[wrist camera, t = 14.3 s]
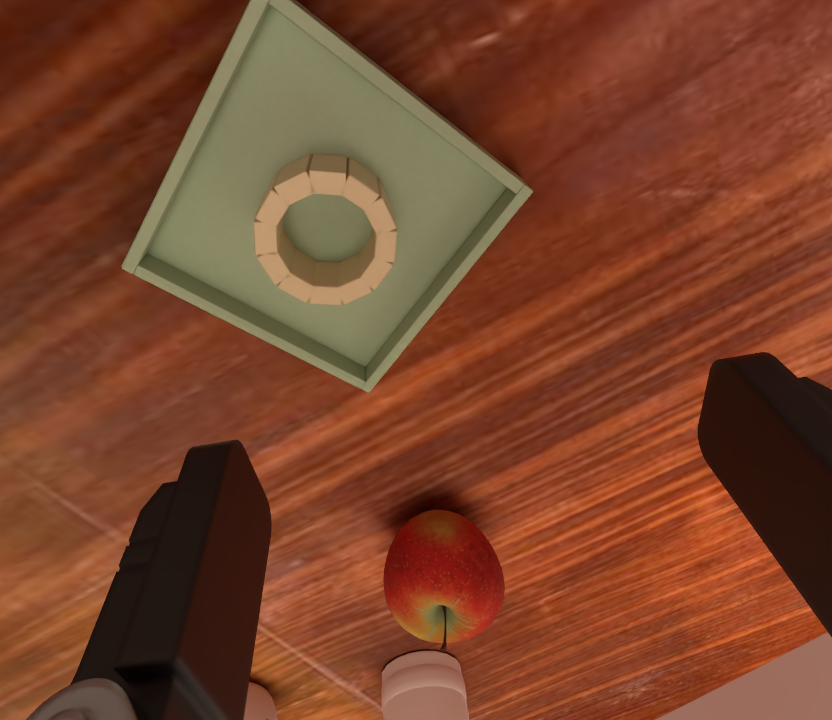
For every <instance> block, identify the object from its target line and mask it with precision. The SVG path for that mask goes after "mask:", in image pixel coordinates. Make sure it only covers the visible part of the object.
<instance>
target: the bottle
mask: <svg viewBox="0 0 832 720" xmlns="http://www.w3.org/2000/svg"><path fill="white" fill-rule="evenodd" d="M381 694H382V713H383V716H384V720H469V715H468V709H467V703H466V698H467V697H466V689H465V684H464V680H463V678H462V672H461V666H460V664H459V663H458V661H457V659H455V658H453V657H452V656H450V655H448V654H447V653H443V652H438V651H417V652H412V653H408V654H405V655H402V656H400V657H397V658H396V659H394V660H393V661H392V662H390V663H389V664H388V665H387V666H386V667H385V669H384V670H383V672H382V689H381Z"/></svg>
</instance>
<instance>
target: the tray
mask: <svg viewBox="0 0 832 720" xmlns="http://www.w3.org/2000/svg"><path fill="white" fill-rule="evenodd" d="M313 153H322V154H333V155H345V156H347V161H348V159H349V158H352V159H354V160H355V161H356V162H358V163H359V164H361V165H362V166H364V167H365V168H367V169H368V170H369V171H371V172H372V173H374V174H375V175H376V176H377V179H380V180H381V183H382V185H383V187H384V189H385V191H386V193H387V195H388V197H389V199H390V201H391V203H392V205H393V210H394V215H395V221H396V226H397V232H398V233H397V244H396V255H395V261H394V262H393V267H392V268H391V270H390V271H389V272H388V274H387V275H386V276H385V278H384V279H383V280H382V282H381V283H380V285H379V286H378V287H377V289H373V288H372V292H371V293H369V294H367V295H365V296H363V297H361V298H358V299H356V300H354V301H352V302H349V303H347V304H344V303H343V301H342V303H341V305H326V304H310V303H309V299H308V301H307V302H306V303H305V302H303V301H301V300H300V299H298V298H296V297H294V296H292V295H290V294H289V293H287V292H285V291H283V290H281V289H280V288H278V283H277V284H274V283H273V281H272V280H271V278H270V277H269V275H268V274H267V272H266V271H265V269H264V268H263V266H262V265H261V263H260V262H259V260H258V259H257V256H258V254H255V243H254V226H253V222H254V220H255V215H256V213H257V210H258V208H259V205H260V203H261V201H262V198H263V196H264V194H265V192H266V191H267V189H268V187H269V186H270V184H271V182H272V180H273V179H274V177H275V175H276V173H277V172H278V171H280V170H281V168H282V167H284V166H286V165H288V164H290V163H292V162H294V161H296V160H298V159H300V158H302V157H304V156H306V155H308V154H311V156H313ZM532 192H533V190H532V189H531V188H530V187H529V186H528V185H527V183H526V182H525V181H524V180H523V179H522V178H521V177H519V176H518V175H517V174H516V173H514V172H513V171H512V170H511V169H509V168H508V167H507V166H505V165H504V164H503V163H502V162H500V161H499V160H498V159H497V158H495V157H494V156H493V155H492V154H490V153H489V152H488V151H486V150H485V149H484V148H483V147H481V146H480V145H479V144H478V143H476V142H475V141H474V140H473V139H471V138H470V137H469V136H467V135H466V134H465V133H464V132H462V131H461V130H460V129H459V128H457V127H456V126H455V125H454V124H452V123H451V122H450V121H448V120H447V119H446V118H445V117H443V116H442V115H441V114H440V113H438V112H437V111H436V110H435V109H433V108H432V107H431V106H429V105H428V104H427V103H426V102H424V101H423V100H422V99H421V98H419V97H418V96H417V95H416V94H414V93H413V92H412V91H410V90H409V89H408V88H407V87H405V86H404V85H403V84H402V83H400V82H399V81H398V80H397V79H395V78H394V77H393V76H392V75H390V74H389V73H388V72H386V71H385V70H384V69H383V68H381V67H380V66H379V65H378V64H376V63H375V62H374V61H373V60H371V59H370V58H369V57H367V56H366V55H365V54H364V53H362V52H361V51H360V50H359V49H357V48H356V47H355V46H354V45H352V44H351V43H350V42H348V41H347V40H346V39H345V38H343V37H342V36H341V35H340V34H338V33H337V32H336V31H335V30H333V29H332V28H331V27H329V26H328V25H327V24H326V23H324V22H323V21H322V20H321V19H319V18H318V17H317V16H316V15H314V14H313V13H312V12H310V11H309V10H308V9H307V8H305V7H304V6H303V5H302V4H300V3H299V2H298V1H297V0H250V2H249V4H248V6H247V8H246V10H245V12H244V14H243V16H242V18H241V20H240V22H239V24H238V26H237V28H236V30H235V33H234V35H233V37H232V39H231V41H230V43H229V45H228V47H227V49H226V51H225V53H224V55H223V57H222V59H221V61H220V64H219V66H218V68H217V70H216V72H215V74H214V76H213V78H212V80H211V82H210V84H209V86H208V88H207V90H206V93H205V95H204V97H203V99H202V101H201V103H200V105H199V107H198V109H197V111H196V113H195V115H194V117H193V119H192V121H191V124H190V126H189V128H188V130H187V132H186V134H185V136H184V138H183V140H182V142H181V144H180V146H179V148H178V150H177V152H176V155H175V157H174V159H173V161H172V163H171V165H170V167H169V169H168V171H167V173H166V175H165V177H164V179H163V181H162V184H161V186H160V188H159V190H158V192H157V194H156V196H155V198H154V200H153V202H152V204H151V206H150V208H149V210H148V212H147V215H146V217H145V219H144V221H143V223H142V225H141V227H140V229H139V231H138V233H137V235H136V237H135V239H134V241H133V243H132V246H131V248H130V250H129V252H128V254H127V256H126V258H125V260H124V262H123V264H122V266H121V268H122V269H124V270H126V271H128V272H130V273H132V274H133V273H134V275H135V276H137V277H139V278H141V279H143V280H145V281H147V282H149V283H151V284H153V285H155V286H157V287H159V288H161V289H163V290H165V291H167V292H169V293H171V294H173V295H175V296H177V297H179V298H181V299H183V300H185V301H187V302H189V303H191V304H193V305H195V306H197V307H199V308H201V309H203V310H205V311H207V312H209V313H211V314H213V315H215V316H217V317H219V318H221V319H223V320H225V321H227V322H229V323H231V324H233V325H235V326H237V327H239V328H241V329H243V330H245V331H247V332H248V333H250V334H252V335H254V336H256V337H258V338H260V339H262V340H264V341H266V342H268V343H270V344H272V345H274V346H276V347H278V348H280V349H282V350H284V351H286V352H288V353H290V354H292V355H294V356H296V357H298V358H300V359H302V360H304V361H306V362H308V363H310V364H312V365H314V366H316V367H318V368H320V369H322V370H324V371H326V372H328V373H330V374H332V375H334V376H336V377H338V378H340V379H342V380H344V381H346V382H348V383H350V384H352V385H354V386H356V387H358V388H361V389H362V390H364V391H366V392H368V393H369V392H370V391H371V390H372V388H373V387H374V386H375V385H376V384H377V382H378V381H379V380H380V379H381V377H382V376H383V375H384V374H385V373H386V371H387V370H388V369H389V368H390V366H391V365H392V364H393V363H394V362H395V360H396V359H397V358H398V357H399V355H400V354H401V353H402V352H403V351H404V349H405V348H406V347H407V346H408V344H409V343H410V342H411V341H412V339H413V338H414V337H415V336H416V335H417V333H418V332H419V331H420V330H421V328H422V327H423V326H424V325H425V324H426V322H427V321H428V320H429V319H430V317H431V316H432V315H433V314H434V313H435V311H436V310H437V309H438V308H439V306H440V305H441V304H442V303H443V302H444V300H445V299H446V298H447V297H448V295H449V294H450V293H451V292H452V290H453V289H454V288H455V287H456V286H457V284H458V283H459V282H460V281H461V279H462V278H463V277H464V276H465V275H466V273H467V272H468V271H469V270H470V268H471V267H472V266H473V265H474V264H475V262H476V261H477V260H478V259H479V257H480V256H481V255H482V254H483V253H484V251H485V250H486V249H487V248H488V246H489V245H490V244H491V243H492V241H493V240H494V239H495V238H496V237H497V235H498V234H499V233H500V232H501V230H502V229H503V228H504V227H505V226H506V224H507V223H508V222H509V221H510V219H511V218H512V217H513V216H514V215H515V213H516V212H517V211H518V210H519V208H520V207H521V206H522V205H523V204H524V202H525V201H526V200H527V199H528V197H529V196H530V195H531V194H532ZM283 218H284V230H285V232H286V234H287V235H288V237H289V238H290V240H291V242H292V243H293V245H294V247H295V248H296V249H297V250H299V251H300V252H302V253H304V254H306V255H307V256H309V257H311V258H312V259H314V260H316V261H324V262H341V261H343V260H345V259H347V258H350V257H352V256H354V255H356V254H358V253H360V251H361V250H362V248H363V247H364V246H365V244H366V243H367V241H368V240H369V238H370V237H371V236H372V228H373V227H372V225H371V223H370V221H369V220H368V218H367V216H366V214H365V212H364V210H363V209H361V208H360V207H358V206H356V205H355V204H353V203H352V202H350V201H349V200H347V199H346V198H344V197H343V196H339V195H326V194H312V195H310V196H308V197H306V198H304V199H302V200H300V201H297V202H295V203H293V204H291V205H290V206H289V207H288V209H287V210H286V212H285V214H284V215H283Z"/></svg>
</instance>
